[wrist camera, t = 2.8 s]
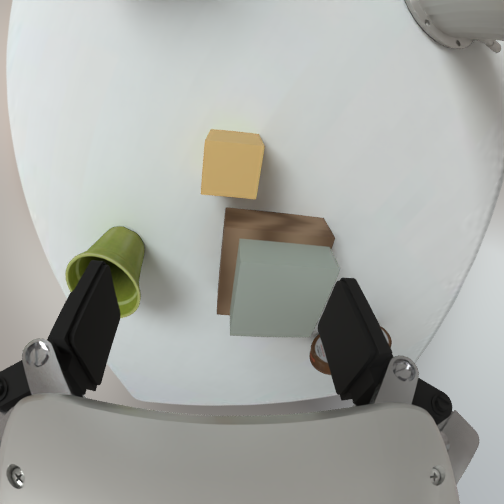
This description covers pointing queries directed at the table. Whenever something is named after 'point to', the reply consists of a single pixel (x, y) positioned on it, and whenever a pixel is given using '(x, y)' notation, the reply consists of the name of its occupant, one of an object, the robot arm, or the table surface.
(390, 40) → the table surface
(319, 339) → the tin
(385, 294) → the table surface
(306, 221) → the tower base
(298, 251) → the tower top
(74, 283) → the plant pot
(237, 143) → the ochre block
